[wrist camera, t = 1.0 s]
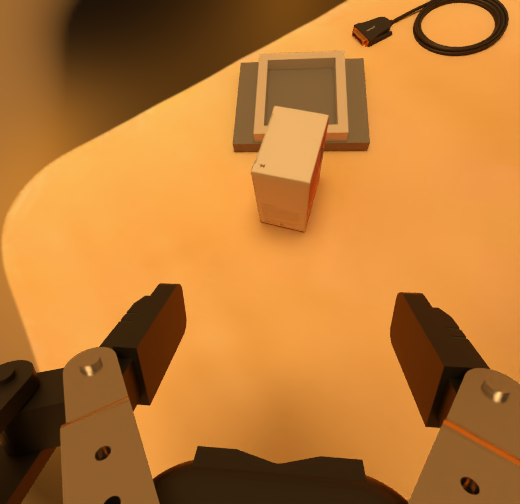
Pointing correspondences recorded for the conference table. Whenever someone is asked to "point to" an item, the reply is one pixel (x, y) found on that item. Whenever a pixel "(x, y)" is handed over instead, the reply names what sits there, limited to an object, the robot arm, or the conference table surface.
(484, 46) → the cable
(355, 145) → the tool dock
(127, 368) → the robot arm
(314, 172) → the small box
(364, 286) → the conference table surface
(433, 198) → the conference table surface
